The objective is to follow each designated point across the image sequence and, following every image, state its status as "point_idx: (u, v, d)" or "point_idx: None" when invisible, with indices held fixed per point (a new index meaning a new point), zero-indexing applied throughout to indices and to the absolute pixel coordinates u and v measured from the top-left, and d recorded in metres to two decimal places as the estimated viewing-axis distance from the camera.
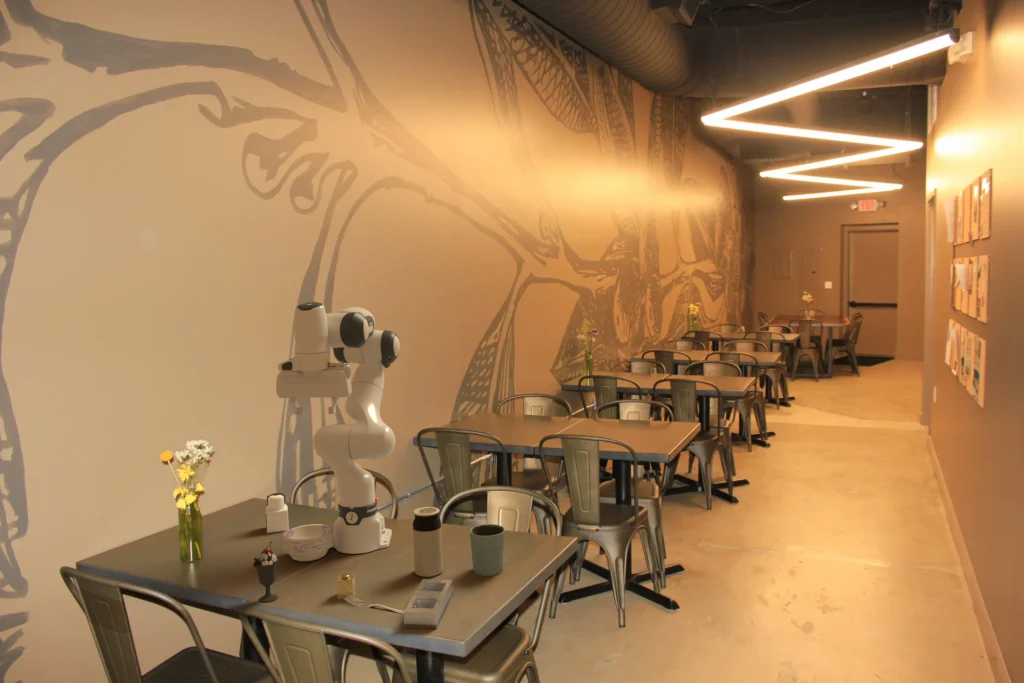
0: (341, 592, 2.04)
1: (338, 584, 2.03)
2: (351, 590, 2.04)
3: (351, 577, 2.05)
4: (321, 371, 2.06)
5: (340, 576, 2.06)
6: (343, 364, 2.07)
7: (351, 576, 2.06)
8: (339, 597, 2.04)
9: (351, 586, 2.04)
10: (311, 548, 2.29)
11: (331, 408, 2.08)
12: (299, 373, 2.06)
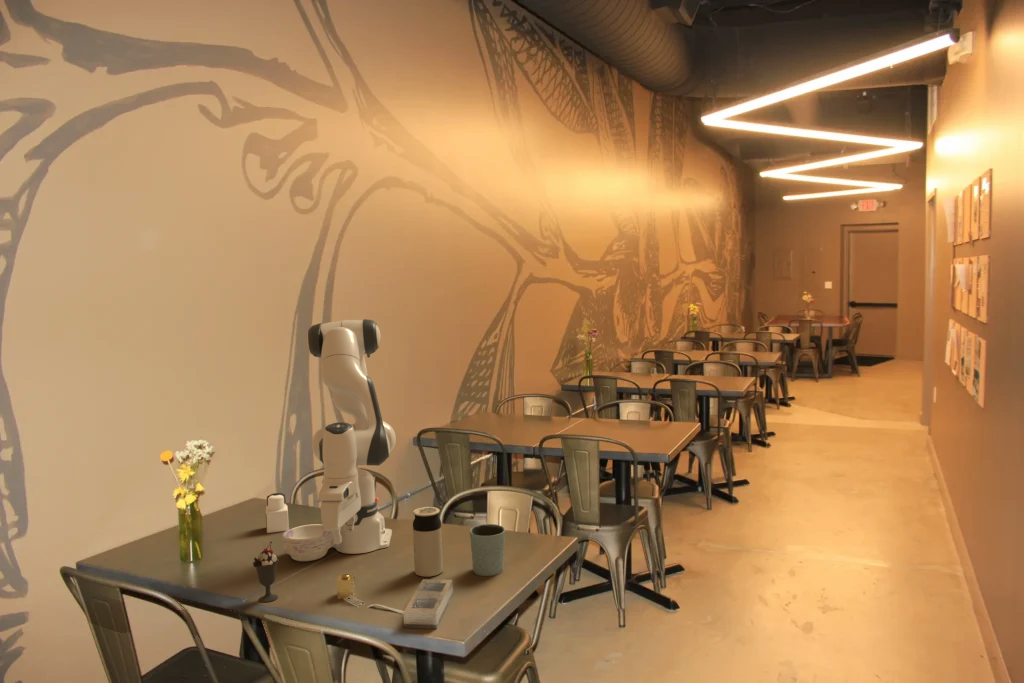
0: (341, 592, 2.04)
1: (338, 584, 2.03)
2: (351, 590, 2.04)
3: (351, 577, 2.05)
4: None
5: (340, 576, 2.06)
6: None
7: (351, 576, 2.06)
8: (339, 597, 2.04)
9: (351, 586, 2.04)
10: (311, 548, 2.29)
11: (353, 525, 2.08)
12: None
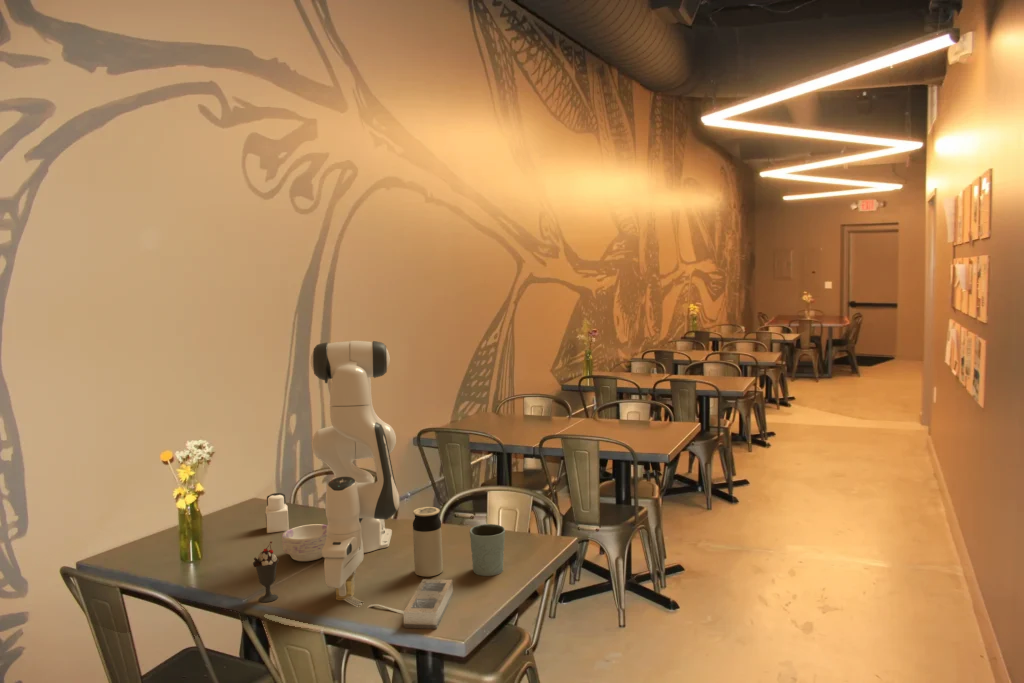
0: None
1: None
2: (350, 591, 2.03)
3: (350, 578, 2.04)
4: None
5: None
6: None
7: (350, 577, 2.05)
8: (338, 598, 2.03)
9: (350, 587, 2.03)
10: (311, 548, 2.29)
11: None
12: None
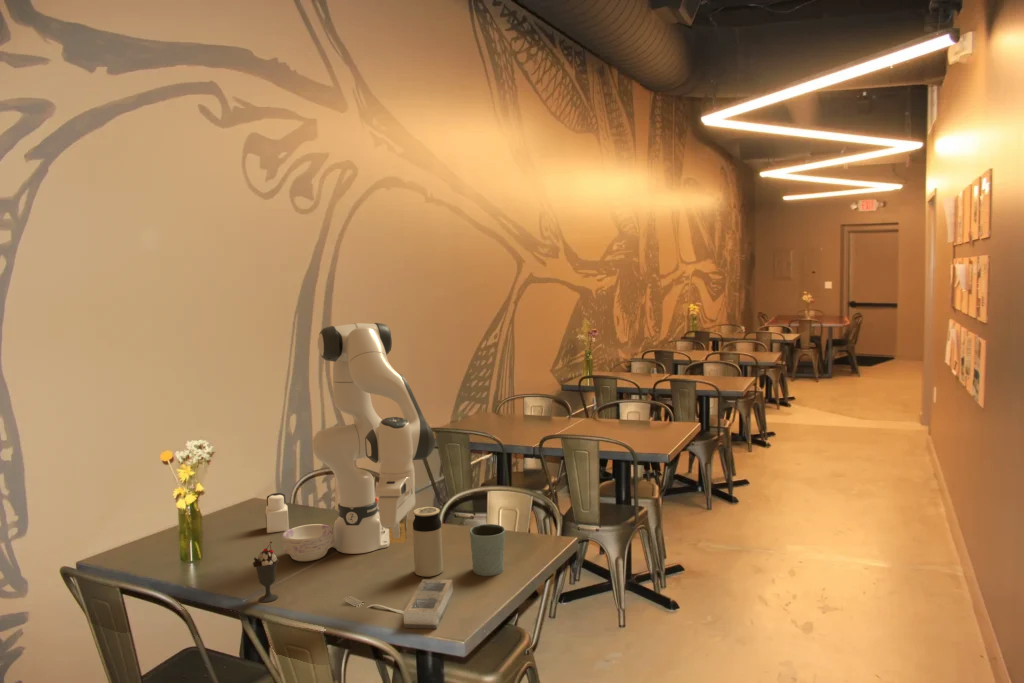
0: None
1: (390, 527, 1.97)
2: (403, 534, 1.97)
3: (403, 521, 1.99)
4: None
5: None
6: None
7: (403, 520, 2.00)
8: (391, 541, 1.97)
9: (403, 529, 1.97)
10: (311, 548, 2.29)
11: (406, 524, 2.02)
12: None
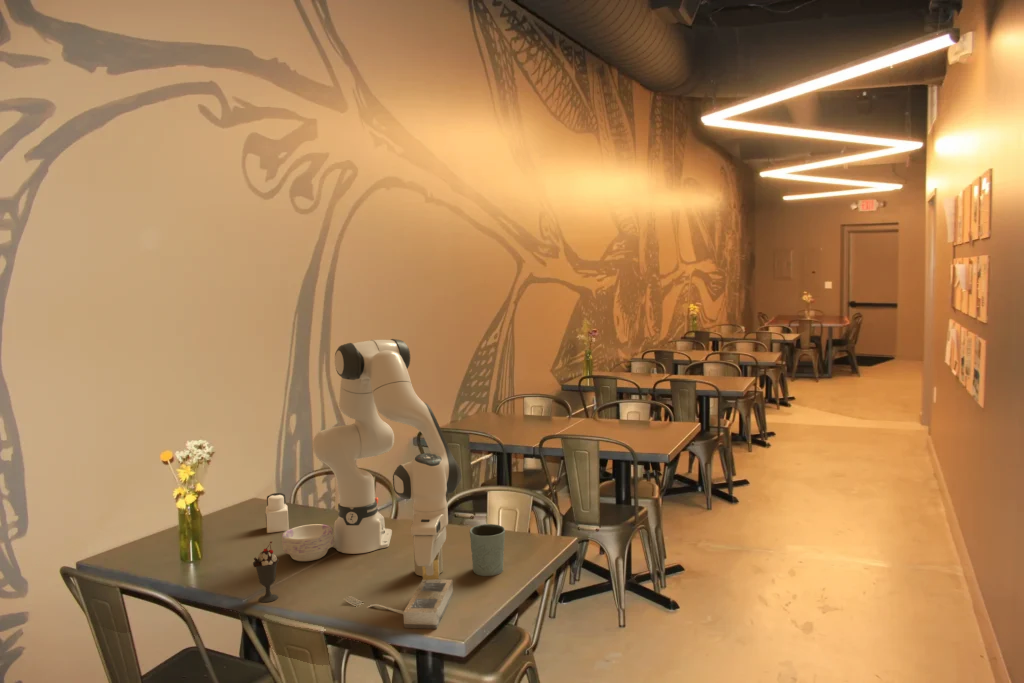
0: None
1: None
2: (437, 570, 1.97)
3: (436, 557, 1.99)
4: None
5: None
6: None
7: (436, 556, 2.00)
8: (424, 578, 1.97)
9: (437, 566, 1.97)
10: (311, 548, 2.29)
11: None
12: None
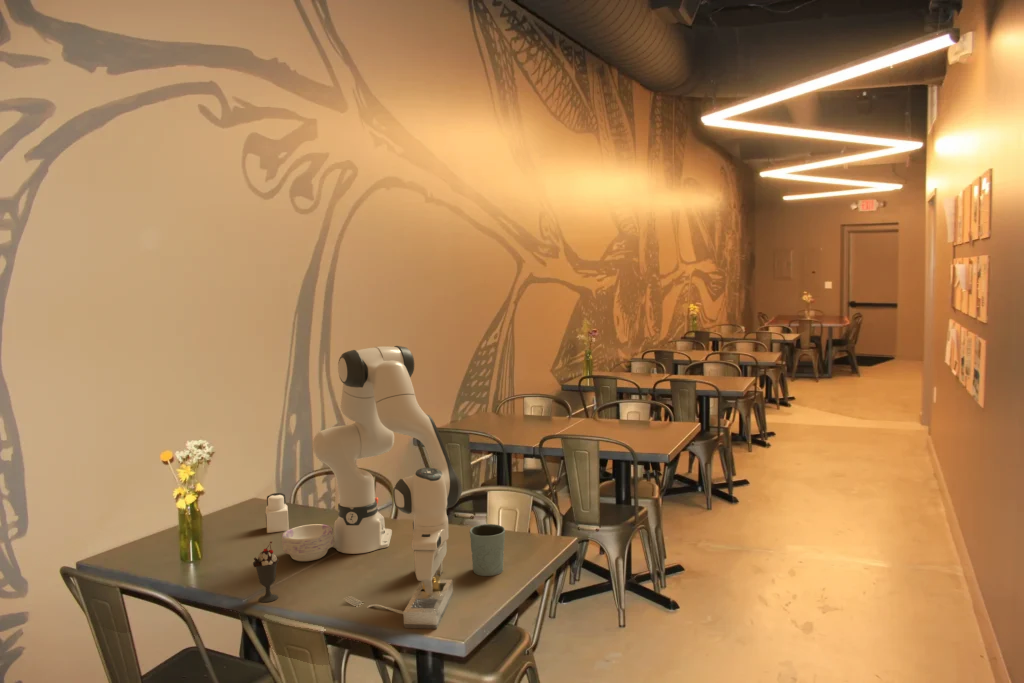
0: None
1: (424, 586, 1.98)
2: None
3: (437, 579, 1.99)
4: None
5: None
6: None
7: (437, 578, 2.00)
8: None
9: (437, 588, 1.98)
10: (311, 548, 2.29)
11: (440, 571, 2.04)
12: None
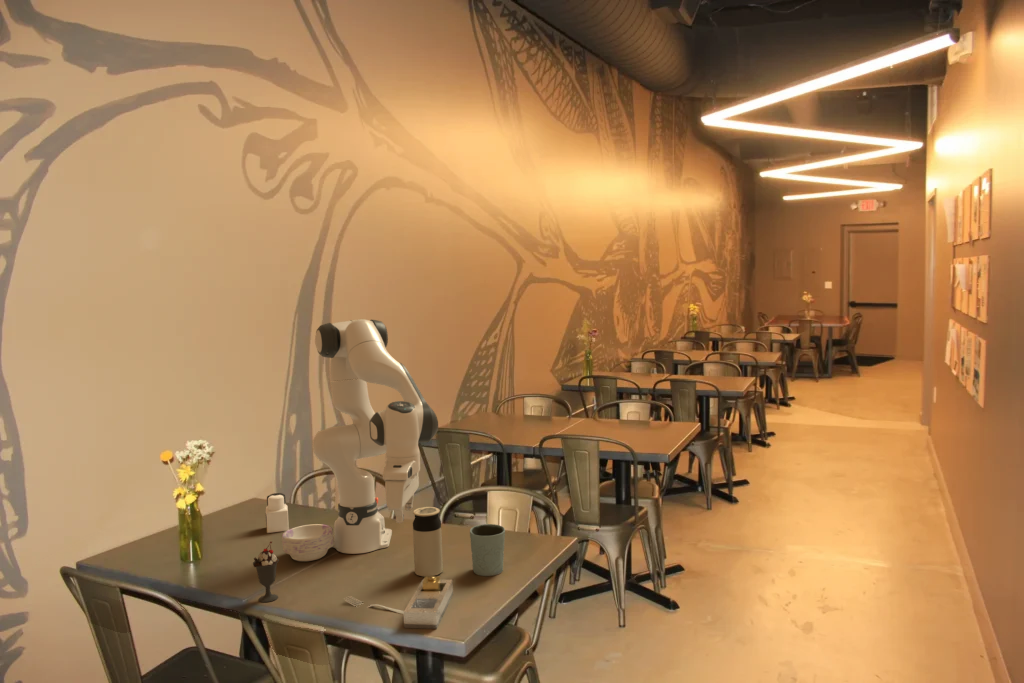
0: None
1: (424, 586, 1.98)
2: None
3: (437, 579, 1.99)
4: None
5: (426, 578, 2.01)
6: None
7: (437, 578, 2.00)
8: None
9: (437, 588, 1.98)
10: (311, 548, 2.29)
11: (412, 504, 2.07)
12: None
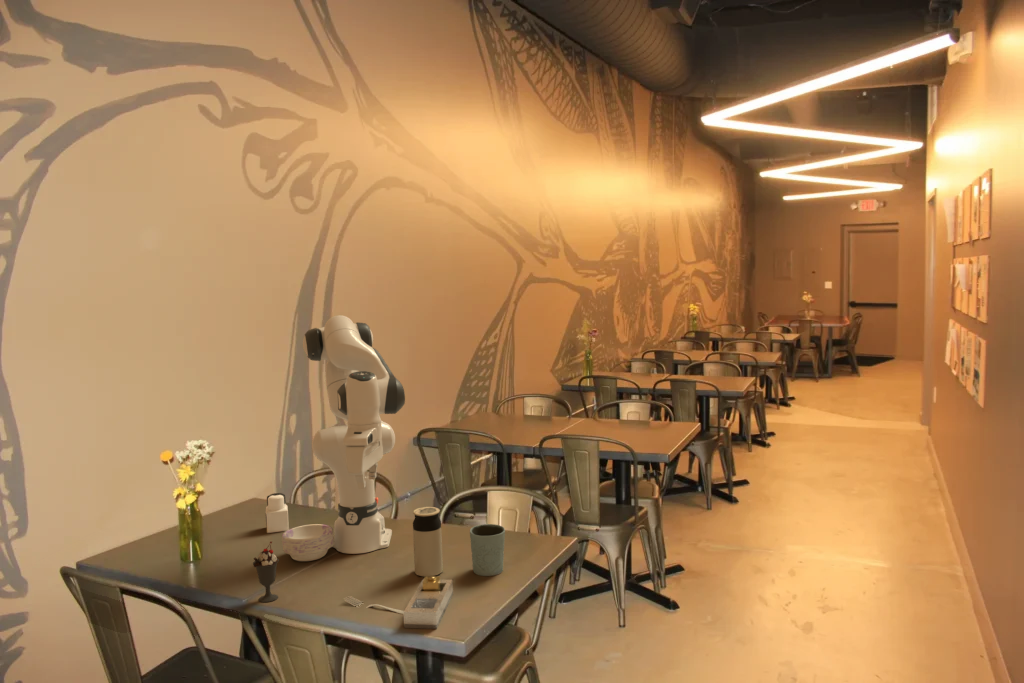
0: None
1: (424, 586, 1.98)
2: None
3: (437, 579, 1.99)
4: None
5: (426, 578, 2.01)
6: None
7: (437, 578, 2.00)
8: None
9: (437, 588, 1.98)
10: (311, 548, 2.29)
11: (375, 473, 2.12)
12: None
